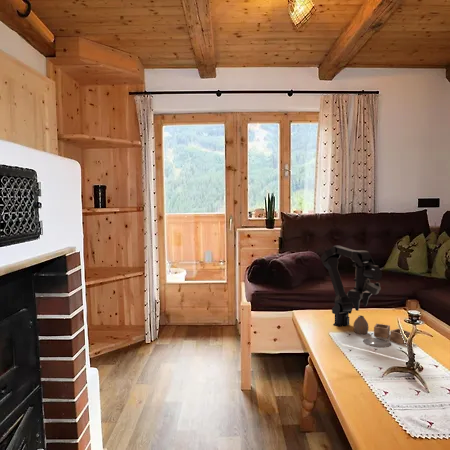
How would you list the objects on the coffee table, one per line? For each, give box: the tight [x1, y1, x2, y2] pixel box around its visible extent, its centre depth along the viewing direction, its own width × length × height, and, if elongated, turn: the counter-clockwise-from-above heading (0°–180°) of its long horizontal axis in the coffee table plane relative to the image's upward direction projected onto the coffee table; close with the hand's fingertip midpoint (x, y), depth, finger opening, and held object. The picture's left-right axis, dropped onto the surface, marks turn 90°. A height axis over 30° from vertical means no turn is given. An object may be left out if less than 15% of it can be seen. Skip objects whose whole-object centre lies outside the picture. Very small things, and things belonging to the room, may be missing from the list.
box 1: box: [373, 323, 391, 339], centre depth 182 cm, size 6×6×5 cm
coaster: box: [362, 337, 392, 349], centre depth 173 cm, size 12×12×1 cm
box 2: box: [389, 328, 411, 345], centre depth 174 cm, size 6×6×5 cm
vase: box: [352, 315, 370, 335], centre depth 186 cm, size 7×7×9 cm
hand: (361, 308), depth 185 cm, fingers open, 9 cm apart
